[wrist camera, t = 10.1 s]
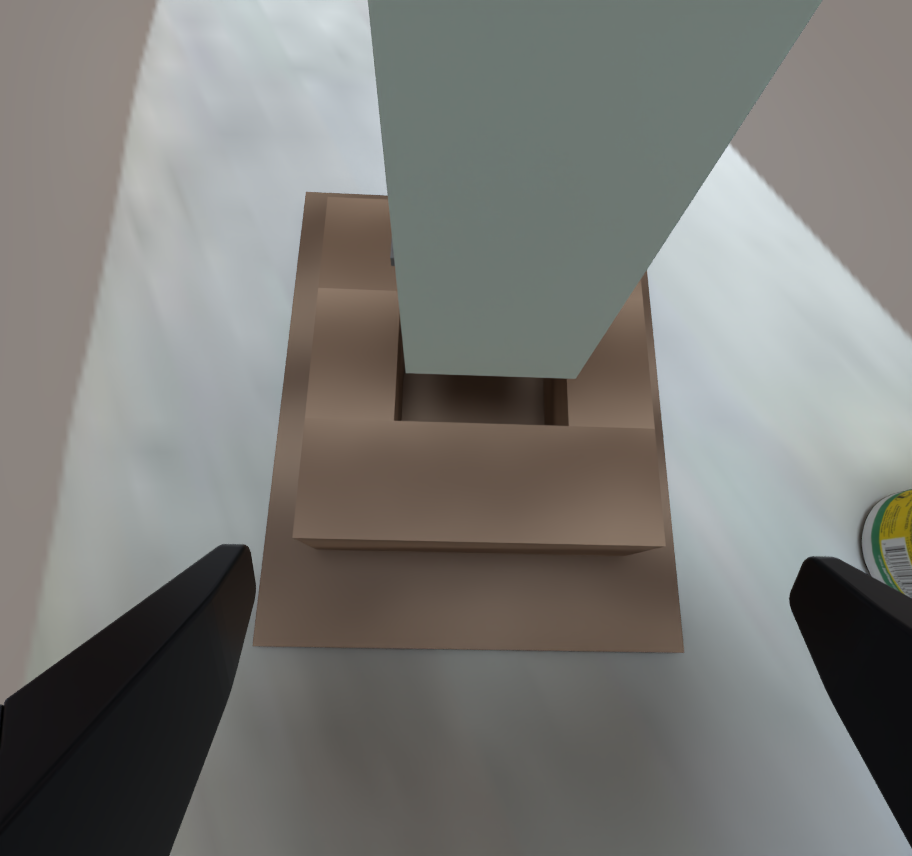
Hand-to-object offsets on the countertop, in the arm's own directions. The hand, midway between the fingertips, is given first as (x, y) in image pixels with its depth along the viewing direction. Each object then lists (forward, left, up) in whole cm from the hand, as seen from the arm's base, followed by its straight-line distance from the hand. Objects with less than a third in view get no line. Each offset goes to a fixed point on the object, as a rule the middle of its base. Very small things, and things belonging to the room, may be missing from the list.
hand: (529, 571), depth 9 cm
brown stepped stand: (+7, +4, -13) cm, 16 cm away
